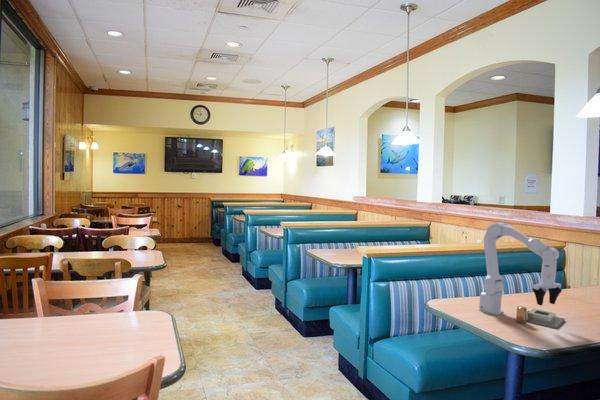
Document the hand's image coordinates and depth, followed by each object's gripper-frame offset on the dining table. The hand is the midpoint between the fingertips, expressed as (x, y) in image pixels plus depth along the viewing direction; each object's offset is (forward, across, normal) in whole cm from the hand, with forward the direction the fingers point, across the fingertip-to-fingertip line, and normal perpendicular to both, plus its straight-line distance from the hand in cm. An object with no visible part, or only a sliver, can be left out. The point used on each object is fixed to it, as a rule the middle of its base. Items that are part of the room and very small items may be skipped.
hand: (545, 304), depth 206 cm
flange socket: (+10, +4, +5) cm, 12 cm away
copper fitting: (+10, -8, +5) cm, 14 cm away
